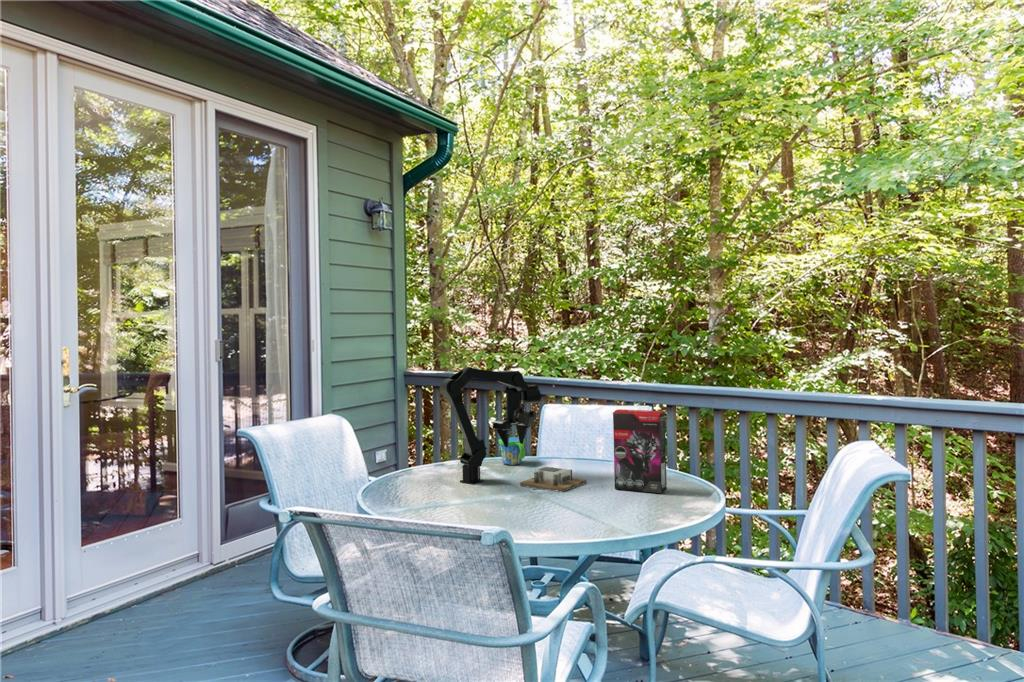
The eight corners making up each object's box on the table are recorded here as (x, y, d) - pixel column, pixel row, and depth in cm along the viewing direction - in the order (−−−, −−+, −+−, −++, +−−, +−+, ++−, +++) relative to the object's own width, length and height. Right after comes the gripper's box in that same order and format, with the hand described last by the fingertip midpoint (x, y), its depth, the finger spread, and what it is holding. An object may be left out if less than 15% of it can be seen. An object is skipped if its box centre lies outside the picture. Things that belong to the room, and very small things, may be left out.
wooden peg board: (563, 491, 244) (562, 478, 244) (520, 485, 255) (519, 472, 255) (586, 482, 257) (586, 469, 257) (544, 477, 268) (544, 464, 268)
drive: (562, 484, 250) (561, 472, 250) (535, 480, 257) (534, 469, 257) (571, 481, 255) (571, 469, 255) (545, 477, 262) (544, 466, 262)
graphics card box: (612, 490, 246) (611, 410, 245) (619, 485, 252) (618, 408, 251) (661, 494, 238) (660, 413, 237) (667, 490, 244) (666, 410, 243)
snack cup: (532, 465, 289) (532, 440, 289) (509, 468, 284) (509, 443, 284) (514, 459, 303) (514, 435, 303) (492, 462, 298) (491, 437, 298)
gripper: (515, 407, 257) (515, 451, 258) (545, 403, 272) (545, 444, 272) (491, 406, 264) (492, 448, 264) (522, 401, 279) (522, 441, 279)
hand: (514, 445), depth 270 cm, fingers open, 9 cm apart
